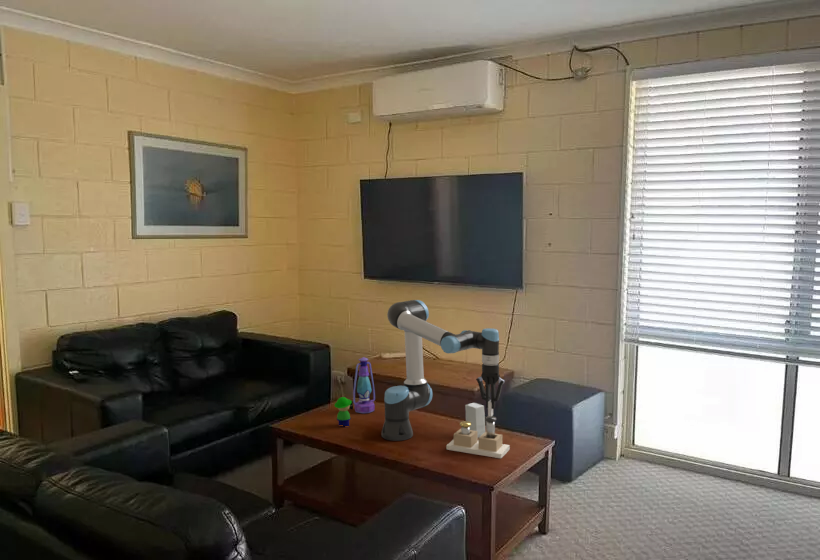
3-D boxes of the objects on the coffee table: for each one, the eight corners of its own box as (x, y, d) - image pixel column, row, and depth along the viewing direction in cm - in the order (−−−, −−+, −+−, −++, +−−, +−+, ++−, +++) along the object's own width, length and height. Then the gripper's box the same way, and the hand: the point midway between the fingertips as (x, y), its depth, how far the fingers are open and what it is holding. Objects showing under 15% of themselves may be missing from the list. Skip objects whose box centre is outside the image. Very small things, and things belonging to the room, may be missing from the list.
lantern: (369, 406, 352) (368, 354, 349) (380, 411, 342) (379, 357, 339) (348, 410, 345) (347, 357, 342) (358, 415, 335) (357, 360, 332)
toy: (355, 424, 320) (355, 396, 319) (345, 429, 313) (344, 400, 312) (342, 421, 325) (341, 393, 324) (331, 426, 318) (330, 397, 316)
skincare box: (485, 435, 301) (485, 405, 300) (476, 438, 298) (475, 408, 297) (474, 431, 308) (474, 401, 307) (465, 433, 305) (464, 403, 304)
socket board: (446, 449, 284) (446, 434, 283) (456, 441, 295) (456, 426, 294) (501, 458, 272) (501, 442, 272) (509, 449, 283) (509, 434, 282)
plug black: (483, 439, 279) (483, 418, 278) (487, 435, 284) (486, 415, 283) (494, 440, 277) (494, 420, 276) (497, 437, 281) (497, 416, 281)
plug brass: (458, 443, 285) (458, 423, 284) (462, 440, 289) (462, 420, 289) (468, 445, 282) (468, 425, 282) (473, 441, 287) (472, 422, 286)
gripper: (473, 364, 277) (474, 415, 279) (501, 366, 271) (501, 419, 273) (479, 360, 283) (479, 411, 285) (507, 363, 277) (507, 414, 280)
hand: (490, 415), depth 279 cm, fingers closed
